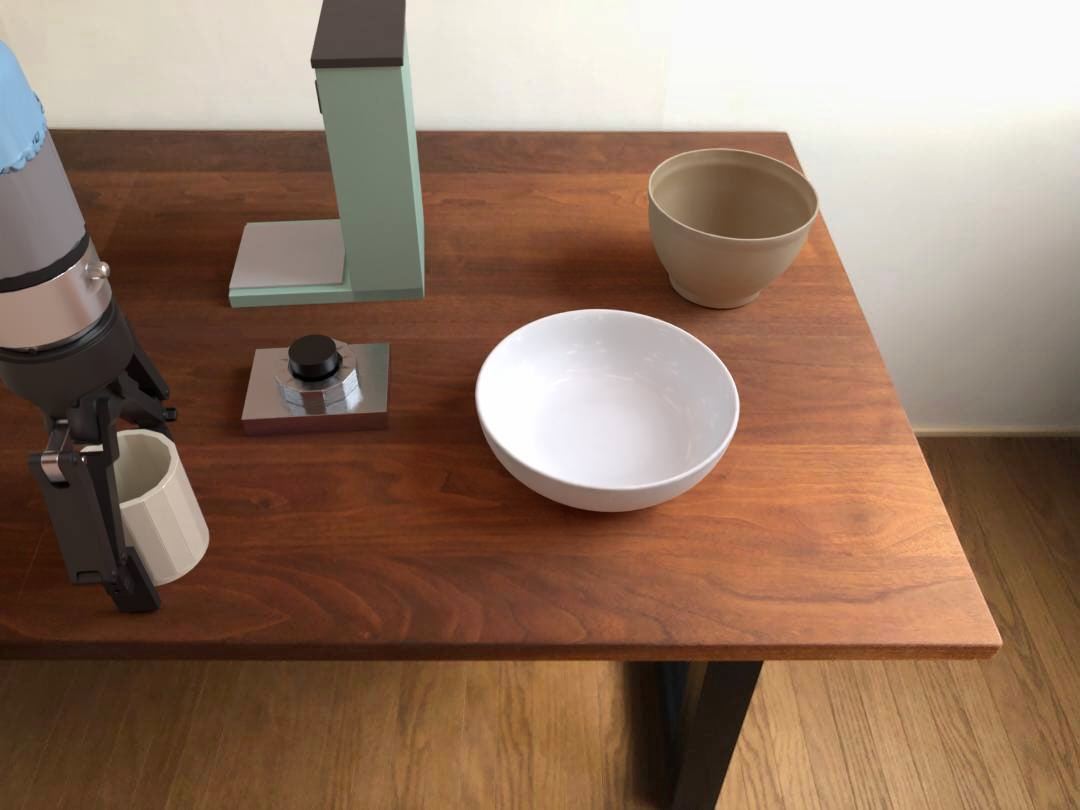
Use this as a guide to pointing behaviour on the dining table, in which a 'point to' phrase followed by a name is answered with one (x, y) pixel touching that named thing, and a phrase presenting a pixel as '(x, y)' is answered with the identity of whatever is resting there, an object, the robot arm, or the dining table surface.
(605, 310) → the serving bowl
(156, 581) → the cup
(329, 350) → the button
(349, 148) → the coffee maker
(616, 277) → the dining table surface
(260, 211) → the dining table surface
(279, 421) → the button block
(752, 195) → the planter bowl
